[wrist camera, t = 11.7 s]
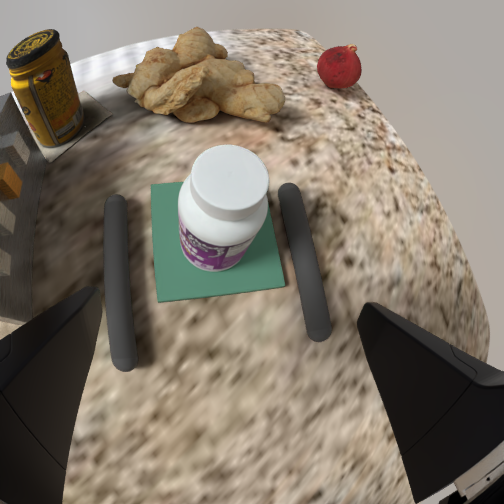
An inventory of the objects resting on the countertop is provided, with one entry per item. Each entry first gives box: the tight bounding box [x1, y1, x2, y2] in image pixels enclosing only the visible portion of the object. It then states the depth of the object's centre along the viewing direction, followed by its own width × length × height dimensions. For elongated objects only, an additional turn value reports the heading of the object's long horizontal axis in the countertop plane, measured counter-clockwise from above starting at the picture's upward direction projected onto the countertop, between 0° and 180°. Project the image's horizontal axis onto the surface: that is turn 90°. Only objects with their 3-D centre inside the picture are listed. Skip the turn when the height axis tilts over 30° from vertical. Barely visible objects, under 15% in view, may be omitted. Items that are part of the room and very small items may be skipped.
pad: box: [151, 182, 285, 303], centre depth 23 cm, size 10×10×1 cm
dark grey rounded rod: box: [278, 183, 332, 342], centre depth 24 cm, size 14×2×2 cm, turn 10°
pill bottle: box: [178, 145, 269, 272], centre depth 18 cm, size 5×5×10 cm
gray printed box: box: [0, 92, 47, 324], centre depth 15 cm, size 16×3×10 cm, turn 10°
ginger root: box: [113, 27, 285, 123], centre depth 26 cm, size 16×16×8 cm
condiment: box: [6, 29, 113, 163], centre depth 19 cm, size 7×8×12 cm
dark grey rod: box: [103, 194, 138, 372], centre depth 20 cm, size 14×2×2 cm, turn 10°
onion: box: [317, 44, 361, 88], centre depth 30 cm, size 6×6×8 cm
